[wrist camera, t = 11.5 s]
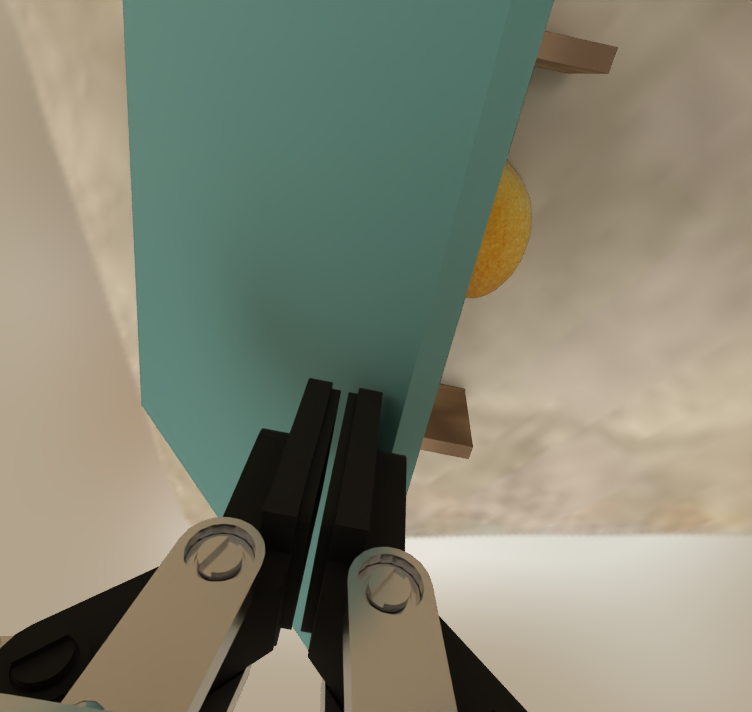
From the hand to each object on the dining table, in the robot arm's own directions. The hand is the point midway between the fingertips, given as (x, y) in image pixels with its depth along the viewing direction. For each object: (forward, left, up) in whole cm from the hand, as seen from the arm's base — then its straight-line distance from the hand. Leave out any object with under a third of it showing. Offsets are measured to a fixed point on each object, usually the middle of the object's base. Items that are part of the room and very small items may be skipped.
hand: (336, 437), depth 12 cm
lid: (+4, 0, -6) cm, 7 cm away
